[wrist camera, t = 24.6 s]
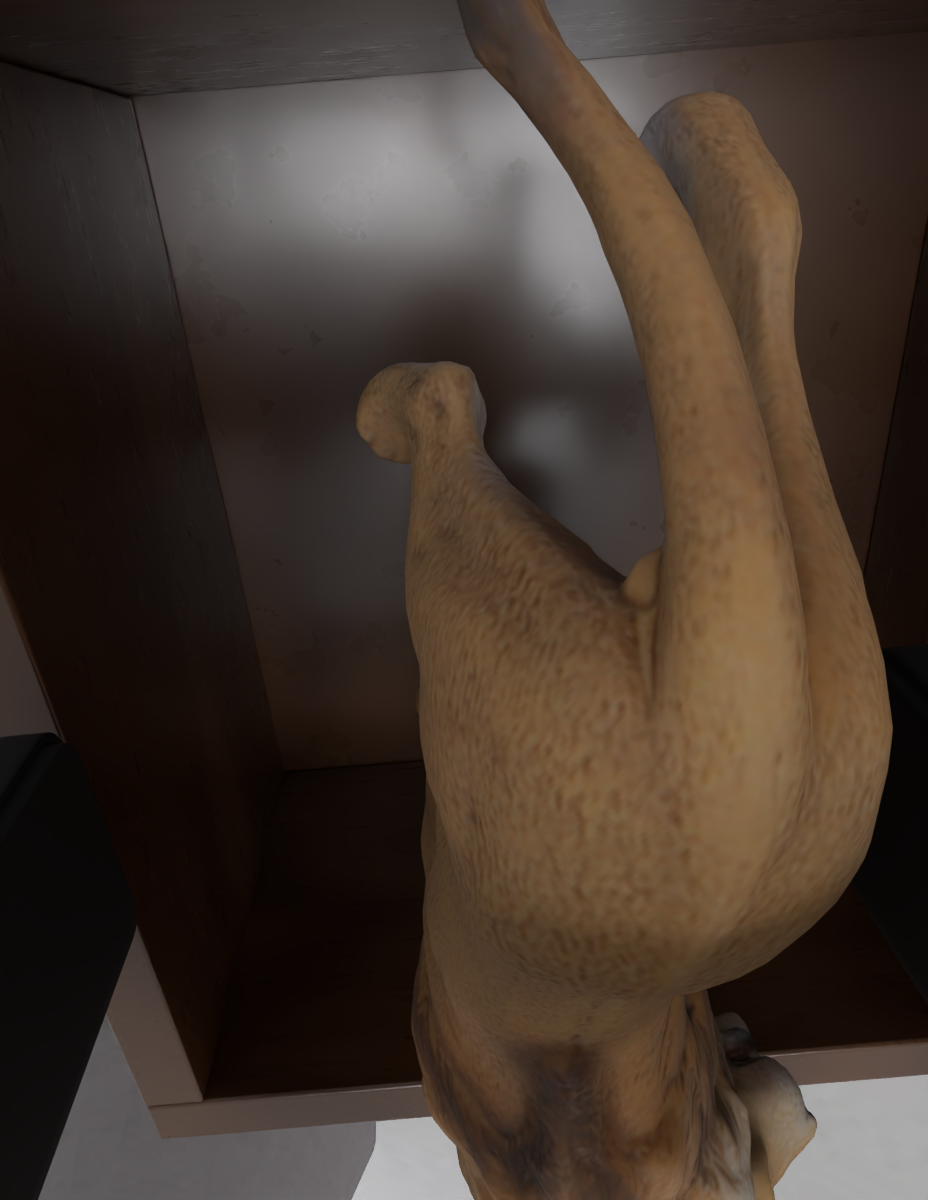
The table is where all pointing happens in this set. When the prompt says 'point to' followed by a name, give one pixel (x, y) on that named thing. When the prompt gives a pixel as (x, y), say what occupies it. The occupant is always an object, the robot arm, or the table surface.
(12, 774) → the robot arm
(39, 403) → the chest
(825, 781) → the lion figurine
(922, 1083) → the table surface
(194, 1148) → the coffee pot
